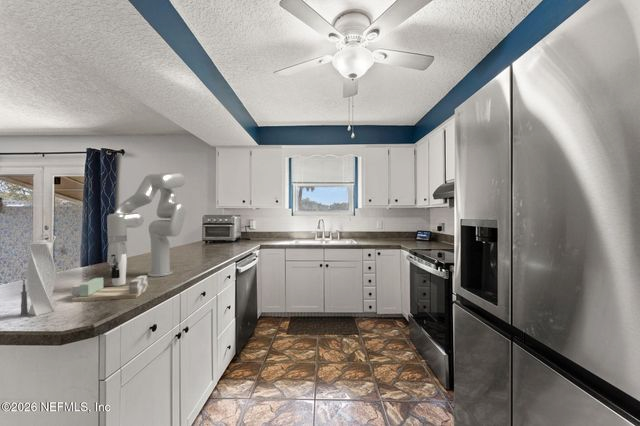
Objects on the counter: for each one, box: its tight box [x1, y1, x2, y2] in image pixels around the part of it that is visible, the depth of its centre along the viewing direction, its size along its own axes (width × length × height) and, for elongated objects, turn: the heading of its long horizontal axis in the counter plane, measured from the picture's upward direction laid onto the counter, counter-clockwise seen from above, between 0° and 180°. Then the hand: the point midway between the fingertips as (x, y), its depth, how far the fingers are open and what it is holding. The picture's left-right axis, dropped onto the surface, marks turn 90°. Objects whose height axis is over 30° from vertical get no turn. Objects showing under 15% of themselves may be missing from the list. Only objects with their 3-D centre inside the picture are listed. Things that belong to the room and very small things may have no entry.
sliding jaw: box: [71, 277, 105, 296], centre depth 124 cm, size 13×7×5 cm, turn 14°
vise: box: [71, 274, 149, 303], centre depth 127 cm, size 16×23×6 cm
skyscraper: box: [19, 235, 57, 319], centre depth 104 cm, size 8×8×28 cm
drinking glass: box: [109, 253, 128, 287], centre depth 139 cm, size 7×7×15 cm
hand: (118, 275), depth 139 cm, fingers closed on drinking glass, 6 cm apart
